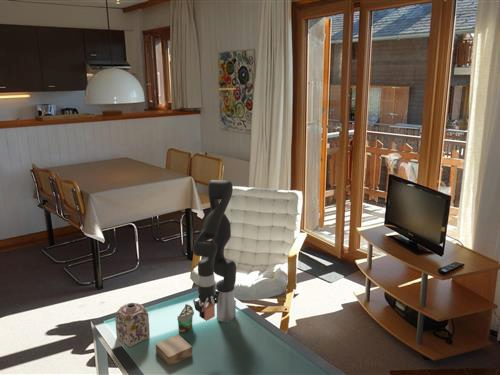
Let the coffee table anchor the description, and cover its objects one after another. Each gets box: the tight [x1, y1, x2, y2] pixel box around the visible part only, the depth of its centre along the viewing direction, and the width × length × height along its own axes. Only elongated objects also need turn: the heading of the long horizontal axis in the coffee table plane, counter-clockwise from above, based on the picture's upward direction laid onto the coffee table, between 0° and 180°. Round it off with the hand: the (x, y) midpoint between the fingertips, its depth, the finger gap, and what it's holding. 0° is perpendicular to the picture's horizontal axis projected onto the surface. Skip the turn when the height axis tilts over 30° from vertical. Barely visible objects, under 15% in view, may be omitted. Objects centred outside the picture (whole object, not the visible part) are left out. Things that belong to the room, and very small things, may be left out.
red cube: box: [198, 302, 216, 322], centre depth 204 cm, size 5×5×6 cm
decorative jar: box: [114, 302, 151, 348], centre depth 214 cm, size 12×12×18 cm
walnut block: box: [155, 333, 193, 367], centre depth 205 cm, size 12×12×5 cm
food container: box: [176, 303, 195, 334], centre depth 224 cm, size 12×6×10 cm, turn 168°
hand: (207, 315), depth 205 cm, fingers closed on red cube, 5 cm apart
